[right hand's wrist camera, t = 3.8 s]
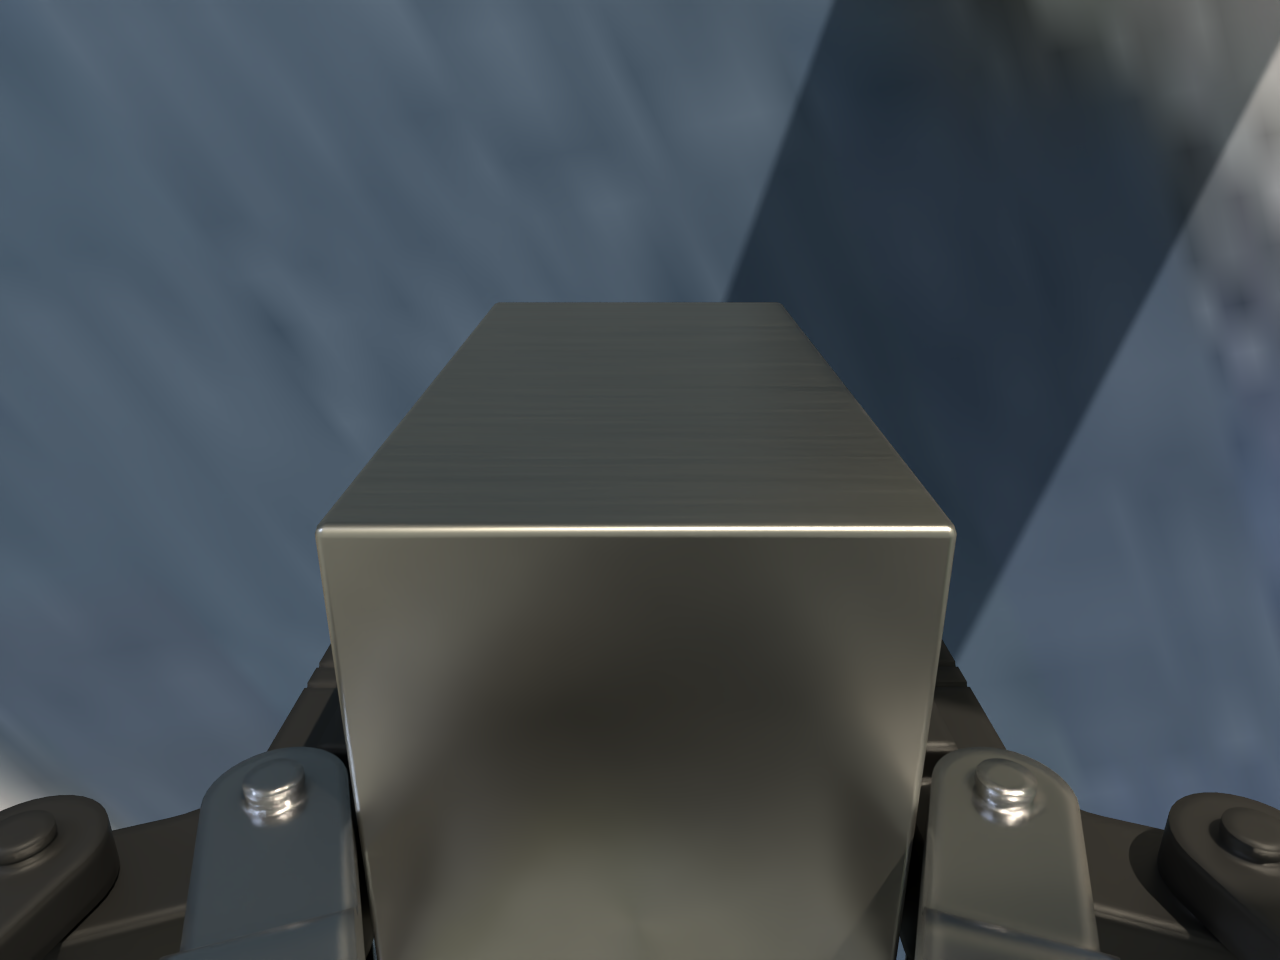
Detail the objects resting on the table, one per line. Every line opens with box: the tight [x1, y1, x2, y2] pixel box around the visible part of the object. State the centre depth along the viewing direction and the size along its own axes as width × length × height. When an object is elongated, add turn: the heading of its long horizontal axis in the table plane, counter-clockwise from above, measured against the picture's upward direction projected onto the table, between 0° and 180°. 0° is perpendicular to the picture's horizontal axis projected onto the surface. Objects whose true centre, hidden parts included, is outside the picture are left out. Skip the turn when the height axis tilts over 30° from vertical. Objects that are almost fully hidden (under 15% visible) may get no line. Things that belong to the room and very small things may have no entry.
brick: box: [315, 302, 957, 960], centre depth 12 cm, size 5×8×9 cm, turn 0°
